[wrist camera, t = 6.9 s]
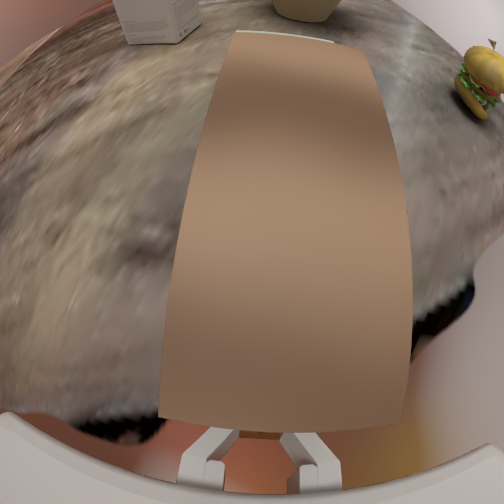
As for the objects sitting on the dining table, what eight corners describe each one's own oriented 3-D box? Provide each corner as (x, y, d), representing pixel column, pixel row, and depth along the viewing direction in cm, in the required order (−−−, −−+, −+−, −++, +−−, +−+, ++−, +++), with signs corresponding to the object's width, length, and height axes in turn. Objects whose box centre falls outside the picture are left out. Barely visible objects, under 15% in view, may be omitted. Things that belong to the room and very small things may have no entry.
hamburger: (491, 132, 22) (536, 81, 10) (460, 121, 21) (509, 57, 10) (467, 92, 24) (501, 41, 12) (434, 79, 24) (469, 18, 12)
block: (302, 365, 15) (400, 422, 4) (217, 359, 15) (158, 416, 4) (311, 182, 18) (362, 50, 8) (239, 175, 18) (233, 31, 8)
